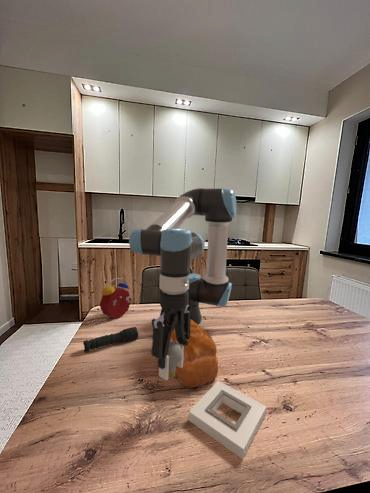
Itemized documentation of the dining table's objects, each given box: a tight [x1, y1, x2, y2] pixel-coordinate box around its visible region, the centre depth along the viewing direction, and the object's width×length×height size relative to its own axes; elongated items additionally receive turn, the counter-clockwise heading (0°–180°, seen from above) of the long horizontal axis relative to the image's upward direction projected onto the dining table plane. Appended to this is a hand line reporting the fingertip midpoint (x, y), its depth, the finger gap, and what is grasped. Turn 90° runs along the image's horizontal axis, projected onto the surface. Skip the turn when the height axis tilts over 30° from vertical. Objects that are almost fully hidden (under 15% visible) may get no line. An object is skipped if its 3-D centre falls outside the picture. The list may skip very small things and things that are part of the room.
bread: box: [170, 320, 219, 389], centre depth 83 cm, size 14×26×16 cm, turn 29°
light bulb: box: [167, 342, 182, 379], centre depth 63 cm, size 6×6×10 cm
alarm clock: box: [99, 277, 132, 320], centre depth 115 cm, size 15×9×20 cm, turn 144°
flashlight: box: [83, 326, 139, 353], centre depth 93 cm, size 5×21×5 cm, turn 125°
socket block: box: [188, 380, 267, 460], centre depth 62 cm, size 15×15×3 cm
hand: (171, 370), depth 63 cm, fingers closed on light bulb, 5 cm apart
